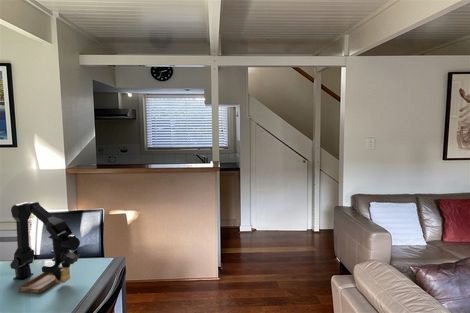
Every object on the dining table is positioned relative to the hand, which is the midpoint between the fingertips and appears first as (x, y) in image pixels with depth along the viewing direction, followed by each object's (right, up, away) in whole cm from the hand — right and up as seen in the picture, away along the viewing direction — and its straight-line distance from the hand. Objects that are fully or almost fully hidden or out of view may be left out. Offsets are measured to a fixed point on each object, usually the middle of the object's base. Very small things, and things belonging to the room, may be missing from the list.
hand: (62, 277), depth 159 cm
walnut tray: (-11, -4, +3) cm, 12 cm away
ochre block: (0, -1, 0) cm, 1 cm away
